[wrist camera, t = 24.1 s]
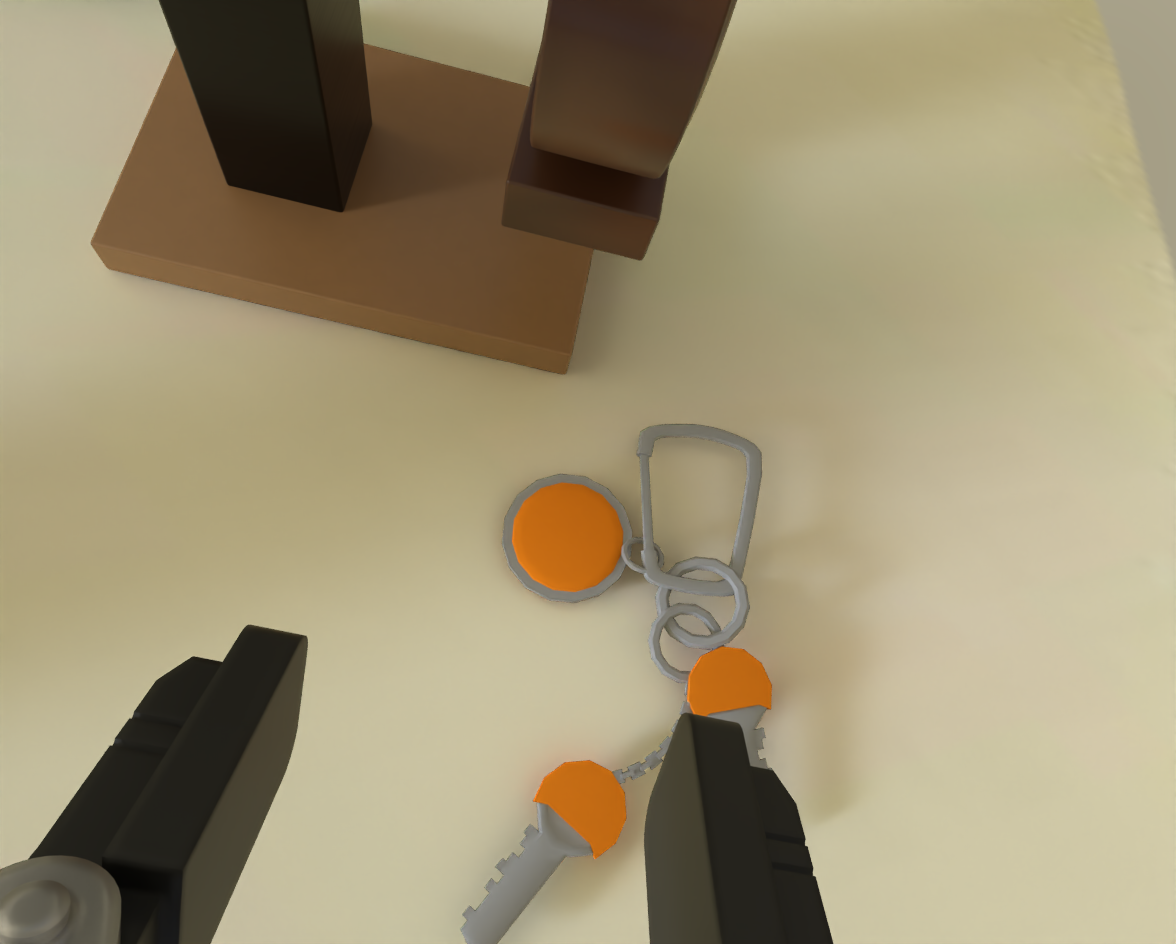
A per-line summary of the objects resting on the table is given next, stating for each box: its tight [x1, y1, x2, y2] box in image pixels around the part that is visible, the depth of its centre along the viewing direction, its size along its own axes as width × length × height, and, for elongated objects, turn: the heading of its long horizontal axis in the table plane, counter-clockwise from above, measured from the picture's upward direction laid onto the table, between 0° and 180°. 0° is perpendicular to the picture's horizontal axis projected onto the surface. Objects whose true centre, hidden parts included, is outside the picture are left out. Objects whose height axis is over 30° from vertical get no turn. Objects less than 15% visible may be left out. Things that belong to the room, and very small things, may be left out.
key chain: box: [460, 424, 772, 944], centre depth 21 cm, size 13×7×1 cm, turn 173°
